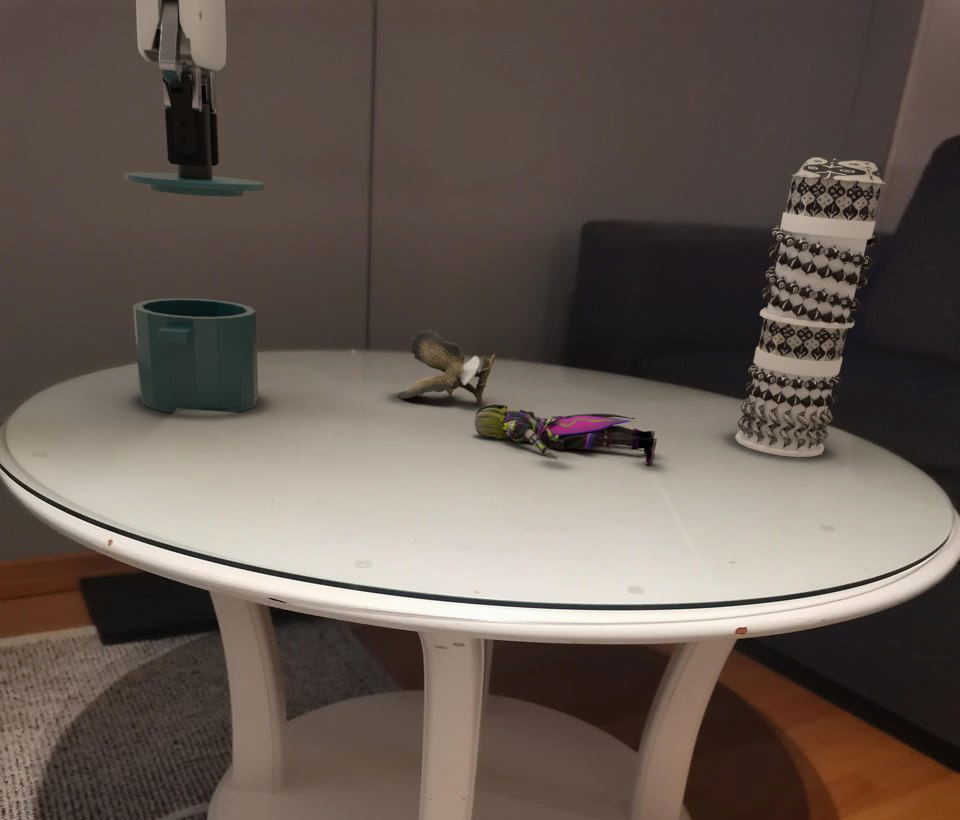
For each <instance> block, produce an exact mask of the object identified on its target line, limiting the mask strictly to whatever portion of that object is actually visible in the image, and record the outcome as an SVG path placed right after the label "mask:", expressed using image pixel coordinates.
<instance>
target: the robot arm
mask: <svg viewBox="0 0 960 820" xmlns="http://www.w3.org/2000/svg"><path fill="white" fill-rule="evenodd" d="M135 8H136V9H135V14H136V39H137V49H138V52H139V54H140V56H141V57H142V58H143V59H144V60H145V61H146V62H148V63H152V64H155V65H158V67H159V70H160V73H161V75H162V83H163V84H162V85H163V103H164V114H165V115H164V116H165V132H166V149H167V150H166V151H167V152H166V153H167V161H168V163H169V164H171V165H177V166H178V165H188V166H199V167H205V166H207V165H208V141H207V118H206V113H205V112H201V110H202V104H206V105H209V110H210V134H211V158H212V167H216V166H218V165H219V162H220V158H219V155H220V153H219V133H218V131H219V130H218V113H217V92H216V91H217V90H216V79H217V73H216V72H219V71H221V70H222V69H223V68H224V67H225V65H226V63H227V19H226V18H227V17H226V16H227V14H226V0H135ZM187 63H192V64H187Z"/></svg>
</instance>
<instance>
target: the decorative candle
mask: <svg viewBox="0 0 960 820" xmlns="http://www.w3.org/2000/svg"><path fill="white" fill-rule="evenodd" d="M789 176H791V177H792V178H791V182H790V188H789V192H788V198H787V201H786V202H787V204H786V208H785V212H783V213H782V216H781V222H780V224H778V225H776V226H774V228H773V229H771V231H770V236H771V237H772V238H773V239H774V240H775V241H776V242H775V243H774V244H772V246H771V247H769V248H768V250H767V253H768V255H769V257H770V258H771V259H772V260H773V262H776V263H774V265H773V266H771V267H769V268H768V270H767V271H765V272H764V279H766V281H767V283H768V285H767V286H765V288H763V289H762V291H761V295H762V298H763V300H764V301H766V302H767V306H766V307H764V308H762V309H761V310H760V312H759V316H760V317H762V318H763V324H762V327H761V331H760V337H759V342H758V346H756V347H755V352H754V357H753V362H752V363H753V365H750V366H749V367H748V369H747V373H748V374H749V376H750V377H751V378H752V379H751V380H750V381H748V382H747V383H746V384H745V385H744V389H745V390H746V393H748V394H749V395H748V397H747V398H745V399H744V400H743V401H742V402H741V404H740V411H741V413H742V415H741V416H740V417H739V418H738V420H737V426H738V428H739V429H740V430H739V431H738V432H737V433H736V434H735V437H734V438H735V440H736V442H737V443H738V444H740V445H742V446H743V447H745V448H748V449H750V450H754V451H756V452H757V451H758V452H760V453H765V454H769V455H775V456H781V457H792V458H793V457H794V458H809V457H813V458H814V457H816V456H820V455H822V454H823V452H824V450H825V445H824V444H823V443H824V442H825V441H826V439H827V438H828V437H829V435H830V434H829V432H828V428H827V427H828V426H829V425H830V423H831V422H832V421H833V419H834V417H833V415H832V412H831V410H830V408H829V406H831V405H834V403H835V402H837V400H838V397H837V396H836V394H835V392H834V391H833V390H835V389H836V388H837V387H839V386H840V385H841V383H842V379H841V378H840V377H839V376H838V375H839V374H840V371H841V368H842V363H843V356H842V353H843V350H844V345H845V343H846V337H847V332H848V329H852V328H853V327H854V326H855V323H856V320H855V319H854V318H853V317H852V316H851V313H853V312H856V311H858V310H860V308H861V307H862V304H861V302H860V301H859V300H858V299H857V296H855V294H856V290H857V289H858V291H859V290H860V289H862V288H863V287H866V286H868V284H869V280H868V278H866V277H865V276H864V274H863V273H864V272H865V271H867V270H869V269H871V268H872V267H873V265H874V262H873V259H872V258H870V257H869V254H866V255H865V252H866V248H867V249H868V248H869V247H870V249H872V247H873V246H875V245H877V244H879V243H880V242H881V236H880V235H876V234H874V235H873V233H874V229H875V226H876V220H875V215H876V211H877V209H878V204H879V200H880V195H881V191H882V187H883V185H885V184H886V185H887V183H885V182H884V181H882V179H881V175H880V173H879V169H878V167H877V165H876V163H874V162H872V161H868V160H867V161H866V160H855V159H845V158H832V157H830V158H829V157H818V156H817V157H811V158H809V159H807V160H806V161H805V162H804V163H803V164H802V166H801V167H800V168H799V170H798V171H797V172H795V174H791V175H789ZM862 271H863V272H862ZM860 272H861V273H860Z"/></svg>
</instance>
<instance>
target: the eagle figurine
mask: <svg viewBox="0 0 960 820" xmlns="http://www.w3.org/2000/svg"><path fill="white" fill-rule="evenodd" d="M409 348H410V350H411V351H410V352H411V353H412V354H413V355H414V356H413V358H414V359H416V360H417V361H419V362H421V363H423V364H425V365H426V366H428V367H429V368H431V369H436V370H438V371H440V372H442V373H440V374H436V375H432V376H427V377H424V378H420V379H418V380H416V381H415V382H414V383H412V384H411V386H409V387H408V388H407V389H406V390H403V391H402V392H398V393H396V396H397V397H399V398H400V399H411V398H413V397H417V396H419V395H423V394H425V393H432V392H434V393H442V392H443V393H444V392H446V393H447V394H448V396H450V397H451V396H453V392H454V391H455V390H456V389H458V388H462V389H464V390H466V391H468V392H469V393H471V394H472V395H473V396H474V397H475V399H476V403H477V404H478V405H479V406H481V405H482V404H483V394H484V391H485V388H486V387H487V385H486V384H487V381H488V377H489V376H490V374H491V371H492V368H493V366H494V362H495V359H496V354H495V353H493V354H492V355H491V356H490V358H487V357H486V356H483V357H482V361H481V363H480V357H479V356H478V355H474V356H472V358H470V360H468V361H467V362H465V359H466V357H465V353H464V352H463V350H462V349H461V347H460V346H459V345H458V343H456V342H451V341H448V340H447V339H446V338H445V337H443V336H441V334H439V333H438V331H436V330H434V329H431V330H430V329H428V330H427V329H425V330H421V331H418V332H417V334H415V335H414V337H413V338H412V339H411V343H410V345H409ZM480 366H481V368H480ZM479 368H480V370H479ZM478 370H479V371H478ZM474 378H478V380H477V383H476V385H475V386H476V387H474V386H473V384H471V383H470V382H471V381H472V380H473V379H474Z"/></svg>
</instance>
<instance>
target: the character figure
mask: <svg viewBox="0 0 960 820" xmlns="http://www.w3.org/2000/svg"><path fill="white" fill-rule="evenodd" d="M627 419H628V420H627ZM630 419H631V420H632V422H636V423H637V420H636V417H630V416H623V415H618V414H615V413H614V414H613V413H582V414H580V413H579V414H571V415H564V416H563V415H557V416H555V415H552V416H551V418H545V417H544V418H541V417H539V416H536V415H535V414H534V411H525V410H523V409H519V410H517V409H516V410H515V409H508V406H507V405H504V404H490V405H486V406H484V407H481V408H480V409H478V410H477V411H476V413H475V418H474V428H475V431H476V432H477V434H478V435H480V436H483V437H485V436H486V437H487V436H488V437H494V438H496V439H498V440H499V439H505V438H506V437H507V436H509V437H510V438H511V439H512V441H513V442H515V443H519V444H520V443H523V442H524V443H531V444H532V445H534V446H535V447H536V449H538V450H539V451H540V452H541V453H542V455H544V456H546V457H547V458H549V459H554V460H558V458H560V456H559V455H556V454H554V453H553V452H552V450H550V449H554V450H560V451H565V450H566V449H575V450H576V449H577V450H582V451H590V450H593V449H596V448H600V447H606V448H608V449H609V450H612V448H611V447H612V446H626V447H630V450H631V451H638V452H643V453H644V454H645V457H646V458H645V462H646V464H648V465H650V466H651V465H652V464H653V462H654V459H655V450H656V447H657V441H658V439H657V438H656V437H655V434H656V433H655V432H656V431H655V430H647V431H645V430H640V429H638V428H635V427H634V428H633V429H632V428H629V427H625V426H622V425H621V424H625V423H630V422H631V420H630Z"/></svg>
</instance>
